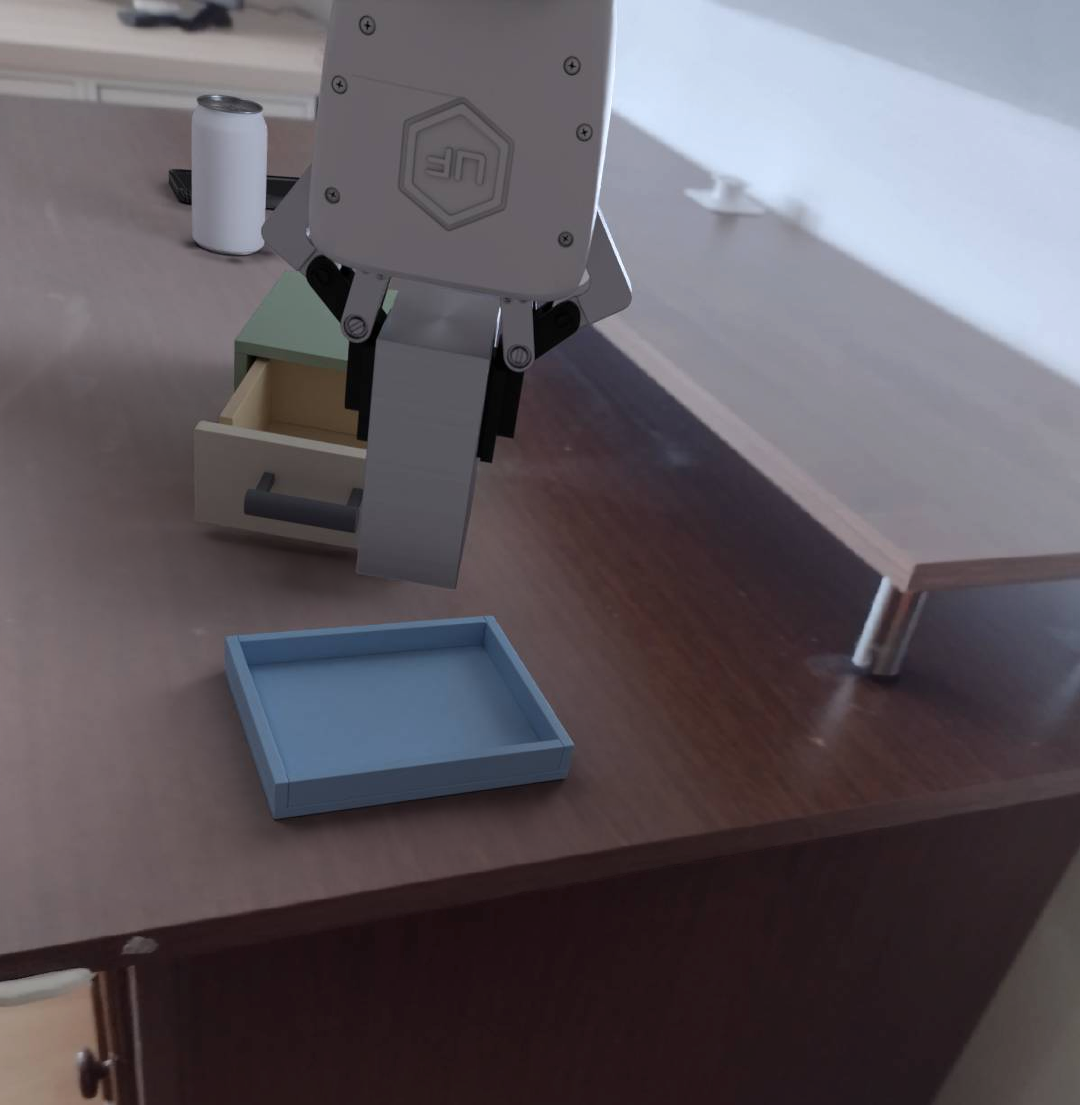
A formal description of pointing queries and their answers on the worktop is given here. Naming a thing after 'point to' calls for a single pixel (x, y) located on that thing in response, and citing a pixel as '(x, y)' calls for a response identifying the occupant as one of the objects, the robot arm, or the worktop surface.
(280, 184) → the phone
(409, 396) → the brushed metal block
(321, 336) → the cabinet
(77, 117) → the worktop surface
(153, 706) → the worktop surface
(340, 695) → the tray
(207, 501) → the drawer
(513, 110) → the robot arm
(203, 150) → the can
